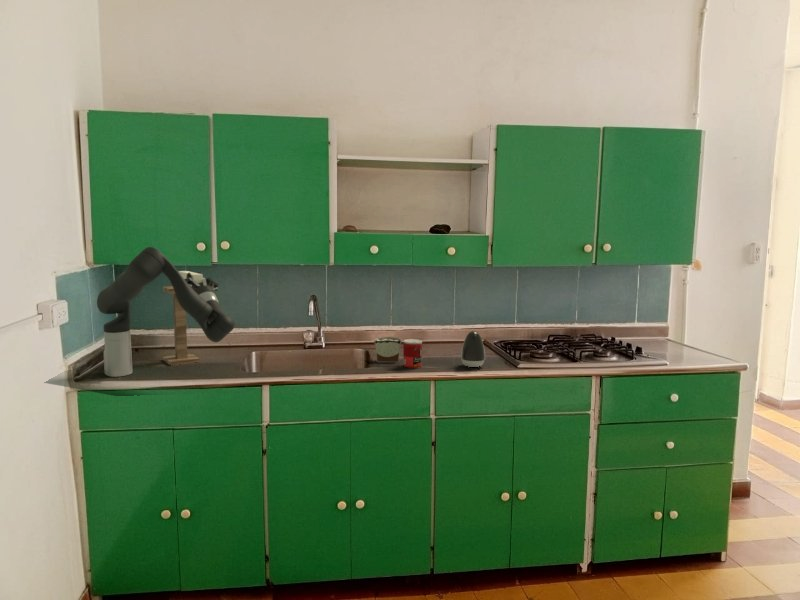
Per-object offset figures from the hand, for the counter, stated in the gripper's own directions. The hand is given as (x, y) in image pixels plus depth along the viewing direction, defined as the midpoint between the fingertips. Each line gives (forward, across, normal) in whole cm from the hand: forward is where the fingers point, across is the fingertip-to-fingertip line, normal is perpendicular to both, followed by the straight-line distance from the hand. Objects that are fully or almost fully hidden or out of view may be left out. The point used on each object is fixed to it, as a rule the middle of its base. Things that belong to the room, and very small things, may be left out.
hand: (193, 274), depth 222 cm
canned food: (-54, -78, +15) cm, 96 cm away
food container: (-41, -75, +22) cm, 88 cm away
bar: (+3, 0, +5) cm, 6 cm away
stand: (0, 0, +45) cm, 45 cm away
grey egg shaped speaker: (-66, -99, +7) cm, 119 cm away
